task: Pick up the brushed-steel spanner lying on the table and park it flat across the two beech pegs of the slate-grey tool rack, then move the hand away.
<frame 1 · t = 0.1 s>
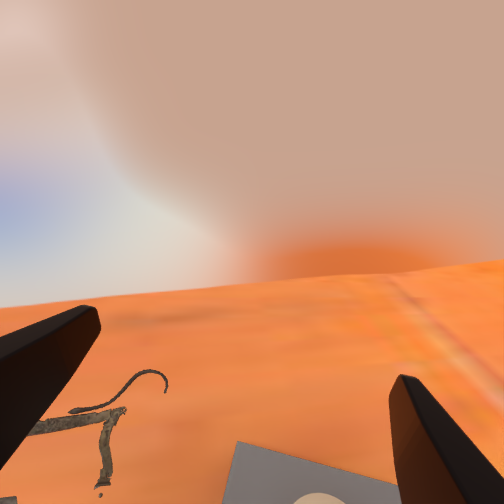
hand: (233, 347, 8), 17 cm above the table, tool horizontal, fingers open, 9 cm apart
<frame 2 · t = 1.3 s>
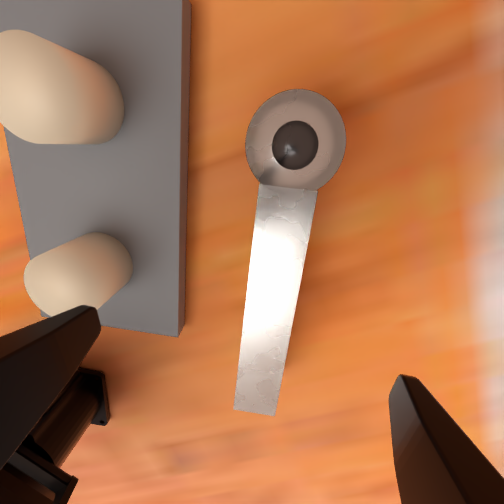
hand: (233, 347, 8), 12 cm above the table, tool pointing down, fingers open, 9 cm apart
spanner: (270, 288, 21), on the table
tool rack: (109, 187, 19), on the table
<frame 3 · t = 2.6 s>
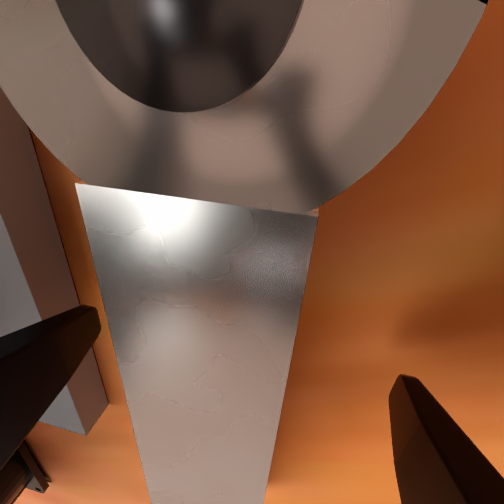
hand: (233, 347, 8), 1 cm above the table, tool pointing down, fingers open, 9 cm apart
spanner: (241, 373, 10), on the table
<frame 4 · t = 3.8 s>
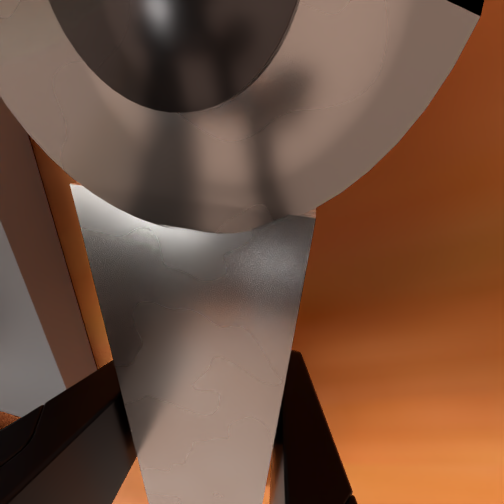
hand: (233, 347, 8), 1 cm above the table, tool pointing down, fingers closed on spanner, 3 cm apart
spanner: (240, 374, 10), on the table, touching gripper
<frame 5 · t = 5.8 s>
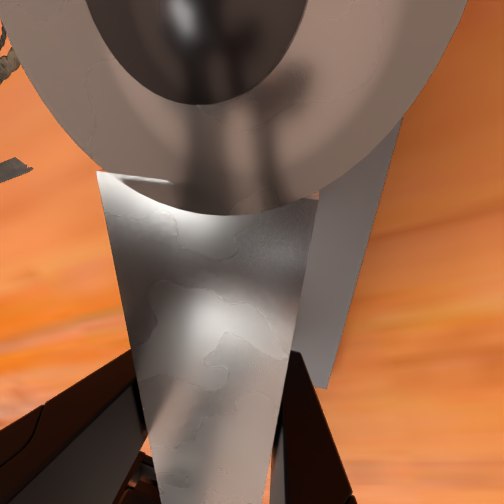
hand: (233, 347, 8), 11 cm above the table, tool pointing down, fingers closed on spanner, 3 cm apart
spanner: (243, 363, 11), point 9 cm above the table, touching gripper
tool rack: (271, 251, 19), on the table
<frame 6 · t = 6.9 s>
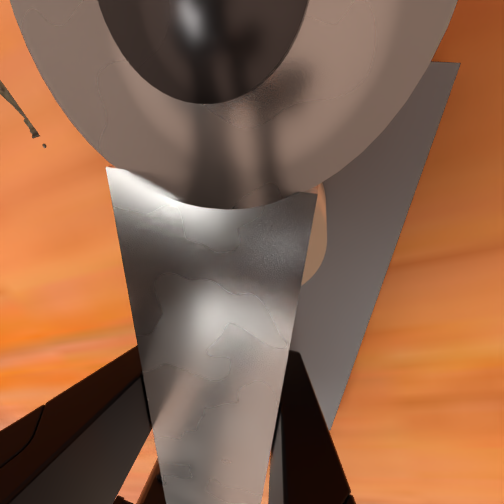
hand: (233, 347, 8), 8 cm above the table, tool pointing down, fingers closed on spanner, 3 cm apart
spanner: (244, 358, 11), point 6 cm above the table, touching gripper
tool rack: (269, 277, 16), on the table
when the fingers open (8 cm above the table, at t = 6.9 s): spanner stays where it is, resting on tool rack.
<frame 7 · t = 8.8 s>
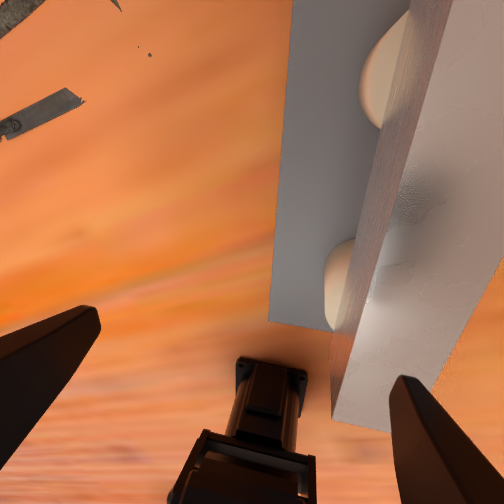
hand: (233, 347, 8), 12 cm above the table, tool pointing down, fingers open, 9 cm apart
spanner: (399, 218, 11), point 5 cm above the table, touching tool rack
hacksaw: (11, 35, 17), on the table
tool rack: (377, 183, 16), on the table
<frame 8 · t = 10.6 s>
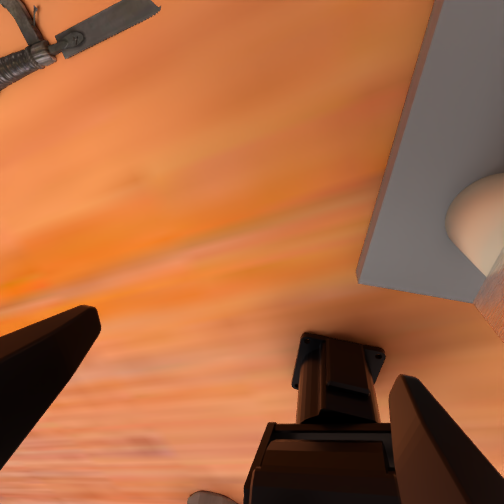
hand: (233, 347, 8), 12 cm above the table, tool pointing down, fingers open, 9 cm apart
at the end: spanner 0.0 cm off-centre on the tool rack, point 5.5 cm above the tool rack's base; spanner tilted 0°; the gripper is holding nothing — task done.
